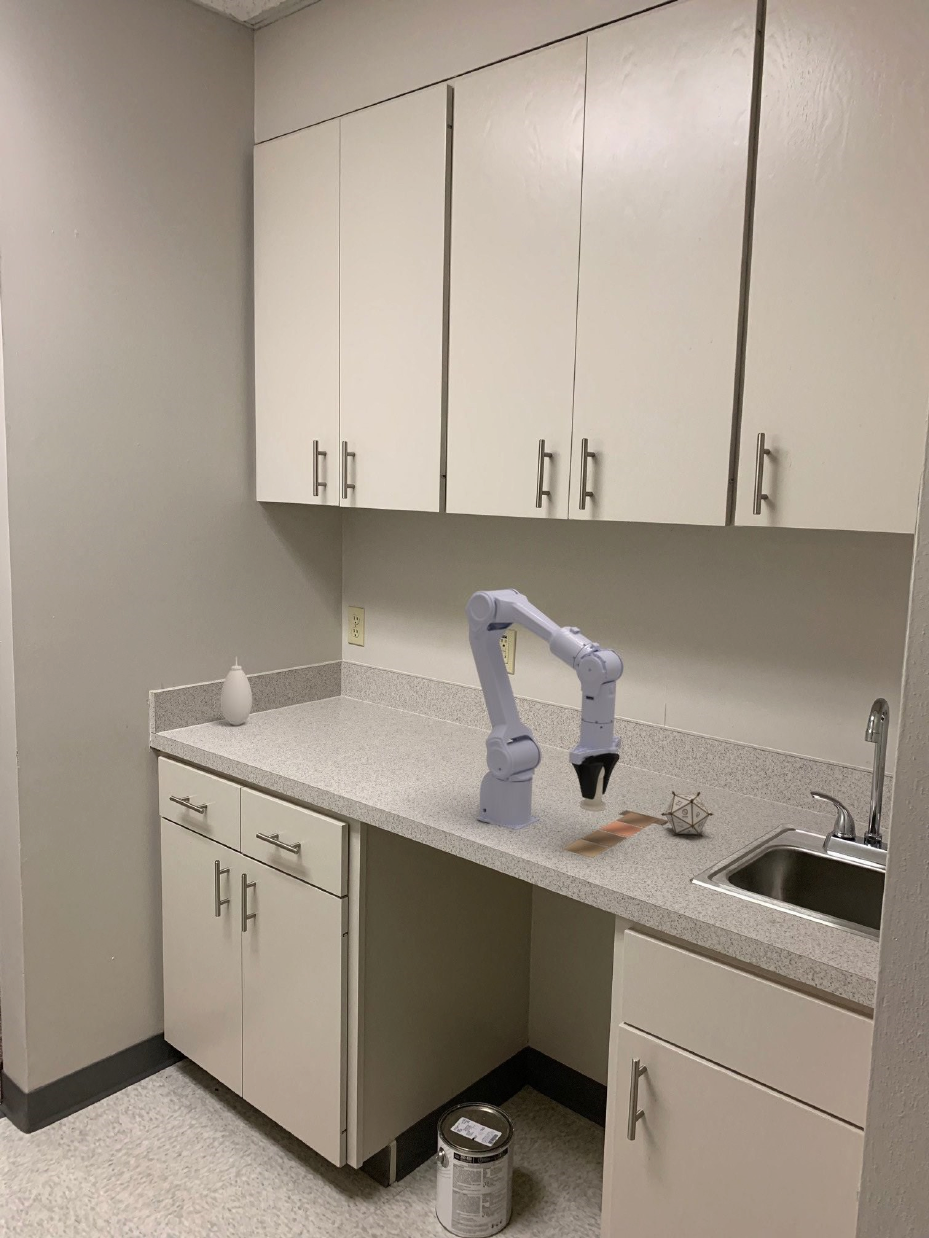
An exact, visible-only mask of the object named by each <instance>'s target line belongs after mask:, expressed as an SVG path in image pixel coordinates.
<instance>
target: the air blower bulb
mask: <svg viewBox="0 0 929 1238" xmlns="http://www.w3.org/2000/svg"><path fill="white" fill-rule="evenodd" d="M230 669H231V670H229V672H228V673H227V674H226V676H225V679H224V682H223V683H222V688H221V691H220V710H221V713H222V715H223V717H224V719H225V720H226V721H228V724H230V725H233V726H240V725H242V724H244V721H246V720H247V719H248V718H249V716H250V714H251V712H252V708H253V707H252V706H253V693H252V689H251V688H252V687H251V684H250V682H249V679H248V677H247V675H246V673H245V672H244V670H243V668H242V666H241V665H238V656H235V665H232V666H231V667H230Z"/></svg>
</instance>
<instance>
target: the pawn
mask: <svg viewBox="0 0 929 1238" xmlns="http://www.w3.org/2000/svg"><path fill="white" fill-rule="evenodd" d="M604 773H605V770H604V767H602V769H601V772H600V774H599V778H598V782H597V789H596V794H595V797H594V799H593V800H591V799H587V798H584V799H582V800H580V803H579V804H580V805H579V807H580V809H582V810H584V811H587V812H595V813H596V812H598V813H599V812H603V811H605V810H606V805H607V804H606V802H605V801H603V795H602V789H603V776H604Z"/></svg>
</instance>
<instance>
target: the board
mask: <svg viewBox="0 0 929 1238" xmlns="http://www.w3.org/2000/svg"><path fill="white" fill-rule="evenodd" d="M618 815H620V816H622V817H619V818H618V819H616V820H614V821H612V822H610V823H608V824H605V825H604V826H603V827H601V828H599V829H597V830H595V831H593V832H591V833H589V834H587V835H585V836H583V837H582V838H581V839H578V840H575V841H574V842H572V843H570V844H569V845H567V846H564V847H562V850H564V851H569V852H572V853H574V854H577V855H581V856H586V857H588V858H591V859H592V858H594V857H596V856H598V855H600V854H601V853H604V852H605V851H606V850H608V849H610V848H612V847H614V846H615V845H617V844H619V843H621V842H623V841H624V840H626V839H627V838H629V837H631V836H633V835H635V834H637V833H639V832H640V831H642V830H643V829H645V828H647V827H649V826H651V825H652V824H655V825H658V826H664V825H667V823H669V821H668V819H667V820H666V819H664V818H658V817H656V816H653V815H652V816H651V815H648V814H644V813H640V812H635V811H631V810H628V809H625V810H623V811H622V812H619V813H618Z"/></svg>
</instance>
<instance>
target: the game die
mask: <svg viewBox="0 0 929 1238" xmlns="http://www.w3.org/2000/svg"><path fill="white" fill-rule="evenodd" d="M671 795H673V796H672V799H671V801H670V802H669V805H668V807H667V809H666V812H662V813H661V814H660V815H661V816H662V817H663V816H665V817H666V819H667V820H668V823H669V824H670V826H671V828H672V830H673V832H674V833H673V837H677V836H678V835H698V837H703V835H702V834H701V832H702V830H703V828H704V827H705V824H706V823H707V820H708V818H709V817H713V816H714V813H713V812H709V810H708V809H707V808H706V805H705V804H704V803H703V800H701V798H700V795H701V791H698V792H697V793H696V794H677V793H676V792H675V791H674V790H671Z"/></svg>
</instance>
